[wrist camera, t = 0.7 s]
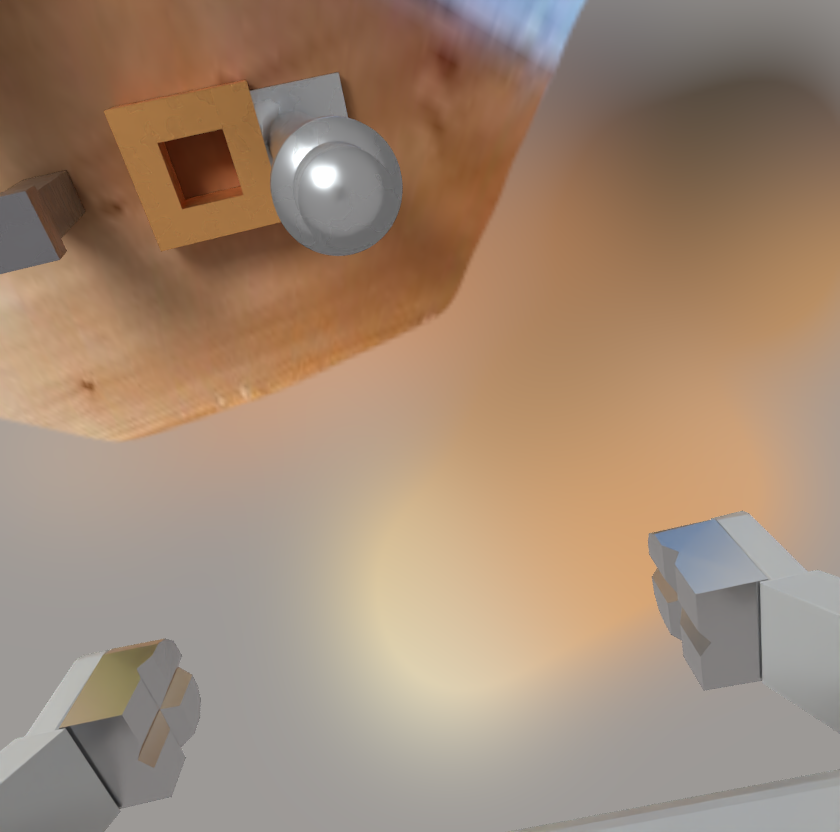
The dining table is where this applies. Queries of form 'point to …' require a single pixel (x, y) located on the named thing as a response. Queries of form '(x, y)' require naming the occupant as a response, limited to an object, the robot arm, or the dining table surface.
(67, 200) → the grey square peg
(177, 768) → the robot arm
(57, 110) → the dining table surface
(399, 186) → the metal post on base
